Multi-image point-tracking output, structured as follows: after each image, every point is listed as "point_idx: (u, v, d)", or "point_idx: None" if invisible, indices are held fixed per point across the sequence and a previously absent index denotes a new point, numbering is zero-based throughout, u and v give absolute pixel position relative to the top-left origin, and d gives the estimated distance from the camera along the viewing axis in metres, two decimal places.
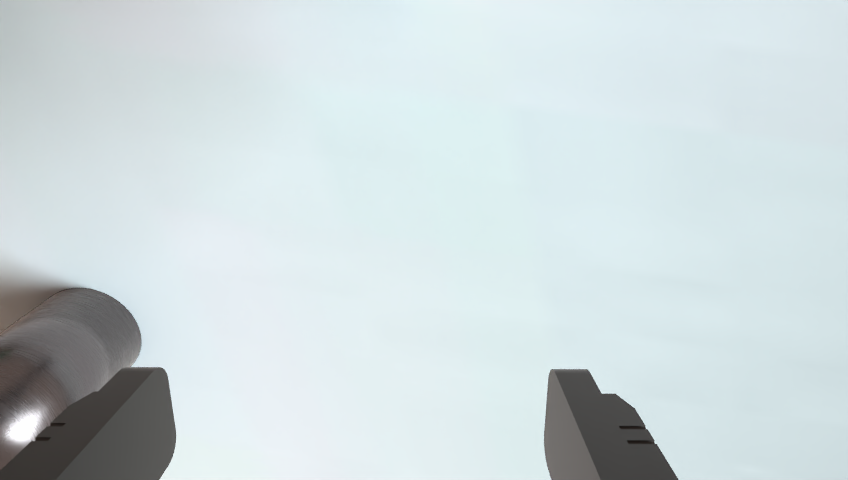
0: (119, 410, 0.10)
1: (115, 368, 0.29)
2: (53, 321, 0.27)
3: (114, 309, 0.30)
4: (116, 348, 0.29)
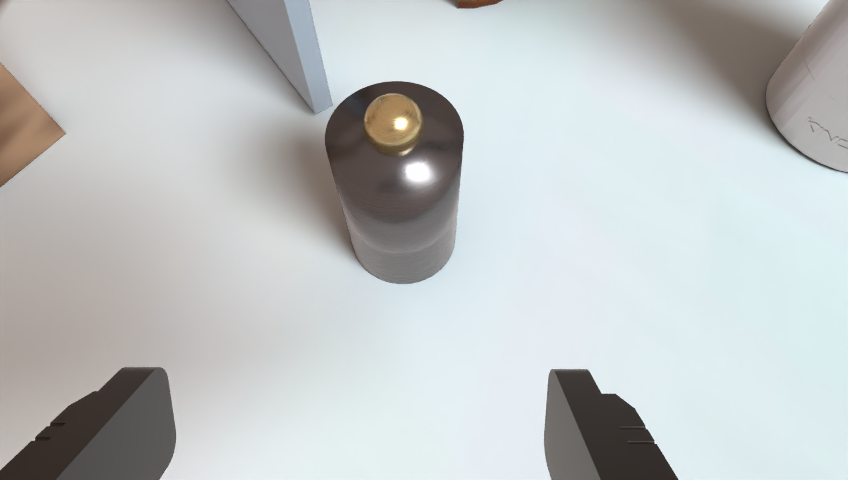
0: (119, 410, 0.10)
1: (442, 244, 0.27)
2: None
3: None
4: (452, 235, 0.28)
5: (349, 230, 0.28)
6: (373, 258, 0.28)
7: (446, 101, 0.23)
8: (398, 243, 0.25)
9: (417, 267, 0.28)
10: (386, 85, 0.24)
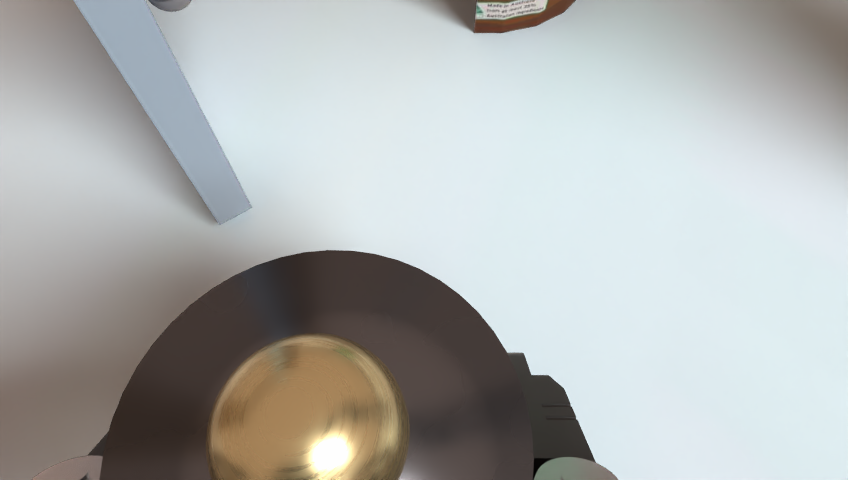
0: None
1: None
2: None
3: None
4: None
5: None
6: None
7: (477, 319, 0.08)
8: None
9: None
10: (307, 262, 0.09)
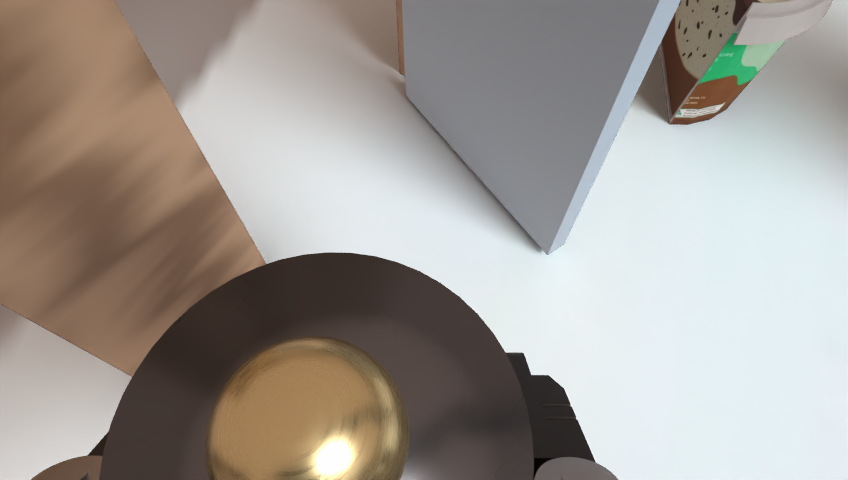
0: None
1: None
2: None
3: None
4: None
5: None
6: None
7: (477, 322, 0.08)
8: None
9: None
10: (307, 264, 0.09)
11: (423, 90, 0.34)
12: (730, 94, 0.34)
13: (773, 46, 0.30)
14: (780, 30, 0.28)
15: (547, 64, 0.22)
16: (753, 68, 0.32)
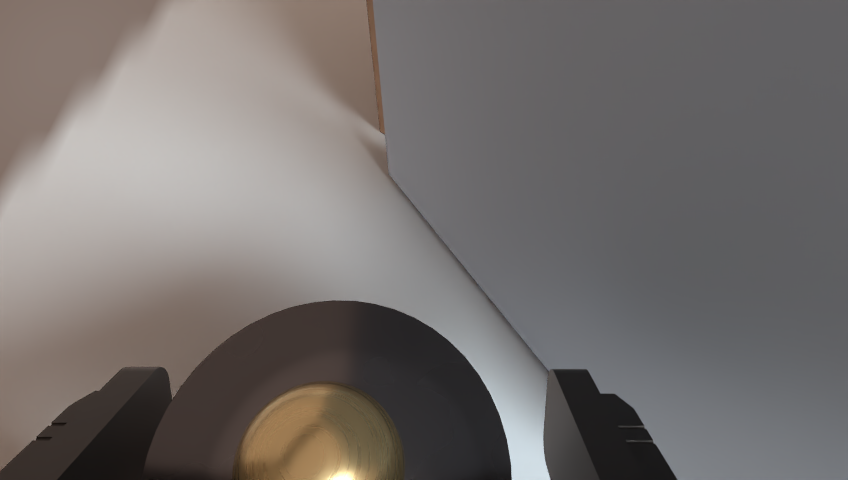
0: (120, 410, 0.10)
1: None
2: None
3: None
4: None
5: None
6: None
7: (464, 364, 0.09)
8: None
9: None
10: (315, 312, 0.10)
11: (417, 176, 0.19)
12: None
13: None
14: None
15: (794, 225, 0.07)
16: None
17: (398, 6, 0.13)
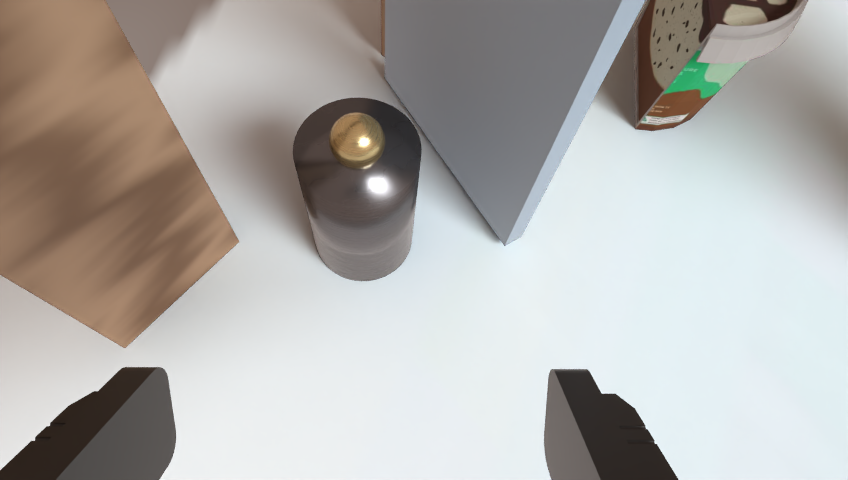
0: (119, 410, 0.10)
1: (397, 249, 0.30)
2: None
3: None
4: (407, 240, 0.30)
5: None
6: (331, 256, 0.30)
7: (409, 122, 0.26)
8: (354, 247, 0.28)
9: (372, 267, 0.30)
10: (355, 101, 0.26)
11: (400, 75, 0.35)
12: (693, 106, 0.35)
13: (735, 65, 0.32)
14: (741, 52, 0.29)
15: (512, 69, 0.23)
16: (716, 84, 0.33)
17: None
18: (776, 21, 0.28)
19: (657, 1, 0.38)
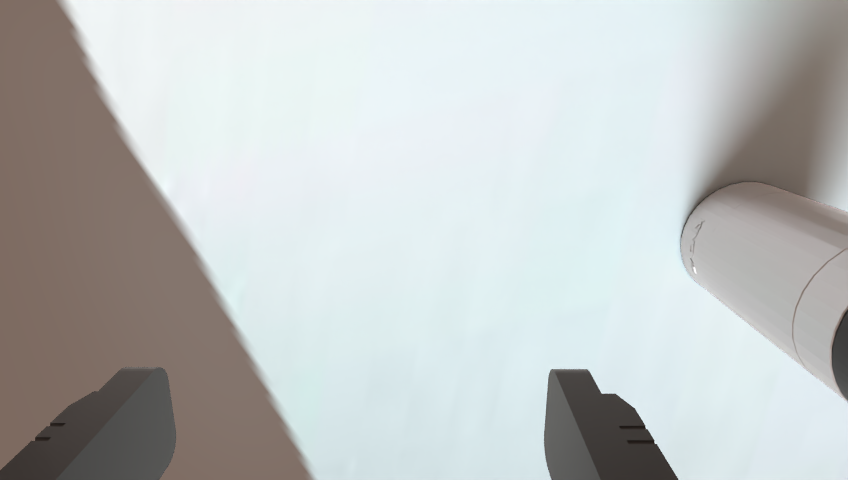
0: (119, 410, 0.10)
1: None
2: None
3: None
4: None
5: None
6: None
7: None
8: None
9: None
10: None
11: None
12: None
13: None
14: None
15: None
16: None
17: None
18: None
19: None
